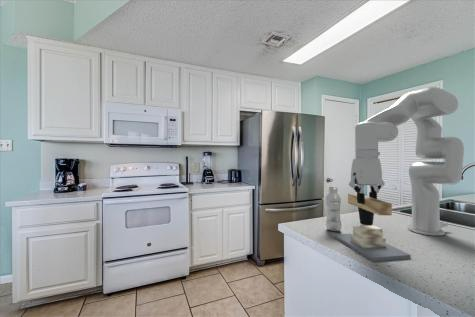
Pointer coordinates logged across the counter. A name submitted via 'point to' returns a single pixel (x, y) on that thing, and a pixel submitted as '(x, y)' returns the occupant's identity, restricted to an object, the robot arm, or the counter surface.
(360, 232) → the stepped block
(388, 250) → the slate board
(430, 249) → the counter surface
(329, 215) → the plastic bottle
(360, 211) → the dixie cup
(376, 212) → the oak bar
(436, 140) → the robot arm
